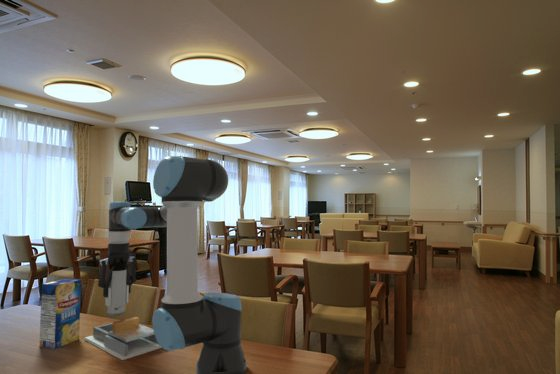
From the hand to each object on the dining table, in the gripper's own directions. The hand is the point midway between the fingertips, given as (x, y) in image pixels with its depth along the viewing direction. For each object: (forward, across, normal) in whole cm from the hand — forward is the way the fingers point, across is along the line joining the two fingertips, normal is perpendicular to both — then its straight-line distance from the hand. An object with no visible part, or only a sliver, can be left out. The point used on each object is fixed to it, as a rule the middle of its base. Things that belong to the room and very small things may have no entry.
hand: (116, 303), depth 144 cm
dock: (+13, 0, +6) cm, 14 cm away
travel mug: (+4, 0, 0) cm, 4 cm away
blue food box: (+13, +15, -12) cm, 23 cm away
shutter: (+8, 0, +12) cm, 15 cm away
